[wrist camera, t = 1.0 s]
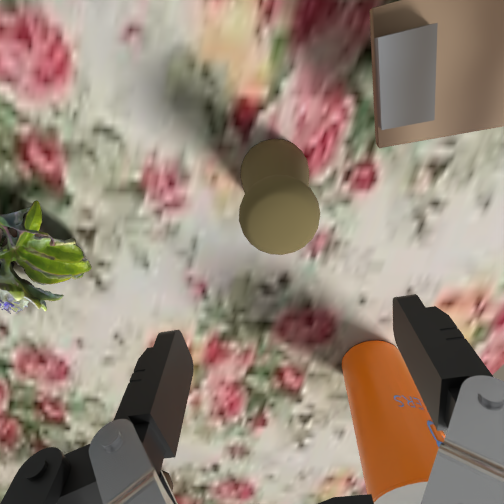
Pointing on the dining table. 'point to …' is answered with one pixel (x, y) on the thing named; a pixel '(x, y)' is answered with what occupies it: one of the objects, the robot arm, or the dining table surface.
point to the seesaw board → (436, 68)
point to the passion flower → (34, 260)
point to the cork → (277, 198)
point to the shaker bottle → (389, 424)
